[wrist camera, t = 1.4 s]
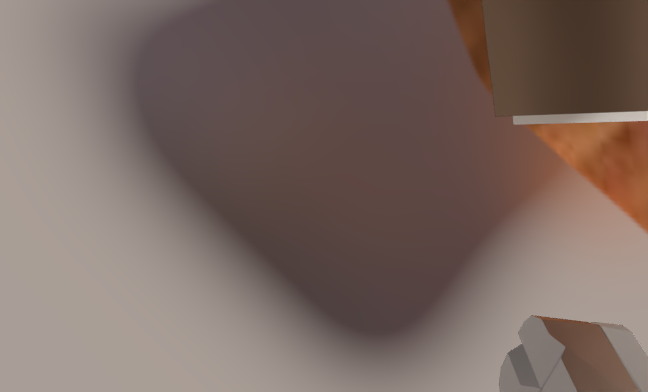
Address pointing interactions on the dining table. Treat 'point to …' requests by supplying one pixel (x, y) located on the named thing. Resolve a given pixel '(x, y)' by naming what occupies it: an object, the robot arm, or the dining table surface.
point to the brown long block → (567, 56)
